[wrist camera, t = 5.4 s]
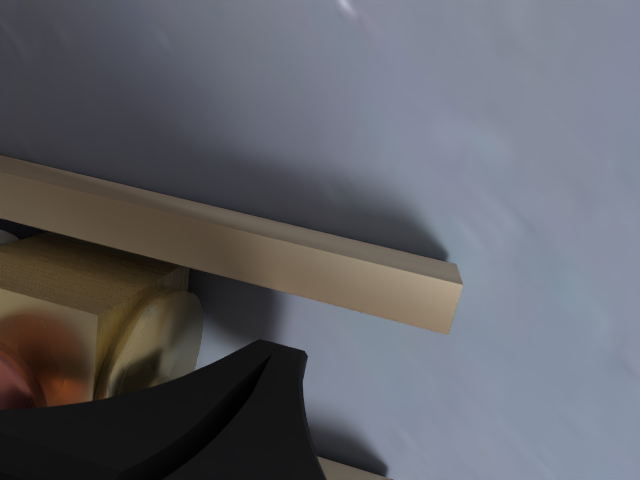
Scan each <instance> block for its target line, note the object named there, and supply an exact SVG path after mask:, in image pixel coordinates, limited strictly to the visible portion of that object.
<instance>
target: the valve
mask: <svg viewBox="0 0 640 480" xmlns="http://www.w3.org/2000/svg"><path fill="white" fill-rule="evenodd" d="M189 273H190V267H186V266H182V265H178V264H174V263H170V262H167V261H163V260H159V259H155V258H151V257H147V256H143V255H140V254H136V253H132V252H128V251H124V250H120V249H117V248H113V247H109V246H105V245H101V244H97V243H94V242H90V241H86V240H82V239H78V238H74V237H71V236H67V235H63V234H59V233H55V232H51V231H50V232H46V233H43V234H39V235H36V236H32V237H29V238H25V239H22V240H18V241H15V242H11V243H8V244H0V410H8V409H24V408H40V407H50V406H59V405H67V404H75V403H81V402H88V401H94V400H99V399H104V398H109V397H113V396H117V395H122V394H126V393H130V392H135V391H139V390H143V389H146V388H149V387H153V386H156V385H159V384H162V383H165V382H168V381H171V380H174V379H176V378H179V377H182V376H184V375H186V374H189V373H191V372H193V371H194V369H195V365H196V362H197V358H198V354H199V350H200V345H201V338H202V330H203V313H202V307H201V303H200V301H199V298H198V297H197V296H196V295H195V294H194V293H191V292H188V291H187V290H188V282H189Z"/></svg>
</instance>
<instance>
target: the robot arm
mask: <svg viewBox="0 0 640 480" xmlns="http://www.w3.org/2000/svg"><path fill="white" fill-rule="evenodd" d="M307 358H308V356H307V354H306V353H305V351H303V350H299V349H295V348H292V347H288V346H284V345H280V344H277V343H273V342H269V341H266V340H262V339H259V340H257V341H255V342H253V343H251V344H249V345H247V346H245V347H243V348H241V349H239V350H238V351H236V352H234V353H232V354H230V355H228V356H226V357H224V358H222V359H220V360H218V361H216V362H214V363H212V364H210V365H207V366H205V367H203V368H200V369H198V370H196V371H193V372H191V373H189V374H186V375H184V376H182V377H179V378H176V379H174V380H171V381H168V382H165V383H162V384H159V385H156V386H153V387H149V388H146V389H143V390H139V391H135V392H130V393H126V394H122V395H117V396H113V397H109V398H104V399H99V400H94V401H88V402H81V403H75V404H67V405H59V406H50V407H40V408H24V409H8V410H0V480H327V479H326V476H325V474H324V472H323V469H322V467H321V465H320V463H319V460H318V458H317V455H316V452H315V449H314V446H313V443H312V439H311V435H310V432H309V428H308V423H307V418H306V412H305V406H304V398H303V378H304V373H305V368H306V363H307Z"/></svg>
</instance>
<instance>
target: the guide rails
mask: <svg viewBox="0 0 640 480" xmlns="http://www.w3.org/2000/svg"><path fill="white" fill-rule="evenodd" d="M0 218H1V219H5V220H9V221H13V222H17V223H21V224H24V225H28V226H32V227H36V228H40V229H44V230H47V231H51V232H55V233H59V234H63V235H67V236H71V237H74V238H78V239H82V240H86V241H90V242H94V243H97V244H101V245H105V246H109V247H113V248H117V249H120V250H124V251H128V252H132V253H136V254H140V255H143V256H147V257H151V258H155V259H159V260H163V261H167V262H170V263H174V264H178V265H182V266H186V267H190V268H193V269H197V270H201V271H205V272H209V273H213V274H216V275H220V276H224V277H228V278H232V279H236V280H239V281H243V282H247V283H251V284H255V285H259V286H263V287H266V288H270V289H274V290H278V291H282V292H286V293H289V294H293V295H297V296H301V297H305V298H309V299H312V300H316V301H320V302H324V303H328V304H332V305H335V306H339V307H343V308H347V309H351V310H355V311H359V312H362V313H366V314H370V315H374V316H378V317H382V318H385V319H389V320H393V321H397V322H401V323H405V324H408V325H412V326H416V327H420V328H424V329H428V330H431V331H435V332H439V333H443V334H447V335H449V331H450V328H451V324H452V321H453V318H454V314H455V311H456V308H457V304H458V301H459V297H460V294H461V291H462V287H463V283H462V280H461V277H460V274H459V271H458V268H457V265H456V264H453V263H449V262H445V261H441V260H436V259H432V258H428V257H424V256H420V255H415V254H411V253H407V252H403V251H399V250H395V249H390V248H386V247H382V246H378V245H374V244H369V243H365V242H361V241H357V240H353V239H349V238H344V237H340V236H336V235H332V234H328V233H324V232H319V231H315V230H311V229H307V228H303V227H298V226H294V225H290V224H286V223H282V222H278V221H273V220H269V219H265V218H261V217H257V216H253V215H248V214H244V213H240V212H236V211H232V210H227V209H223V208H219V207H215V206H211V205H207V204H202V203H198V202H194V201H190V200H186V199H182V198H177V197H173V196H169V195H165V194H161V193H156V192H152V191H148V190H144V189H140V188H136V187H131V186H127V185H123V184H119V183H115V182H111V181H106V180H102V179H98V178H94V177H90V176H85V175H81V174H77V173H73V172H69V171H65V170H60V169H56V168H52V167H48V166H44V165H39V164H35V163H31V162H27V161H23V160H19V159H14V158H10V157H6V156H2V155H0ZM317 458H318V460H319V463H320V465H321V467H322V469H323V472H324V474H325V476H326V479H327V480H393V479H389V478H386V477H383V476H380V475H376V474H373V473H370V472H367V471H363V470H360V469H357V468H354V467H350V466H347V465H344V464H341V463H337V462H334V461H331V460H328V459H324V458H321V457H318V456H317Z"/></svg>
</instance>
